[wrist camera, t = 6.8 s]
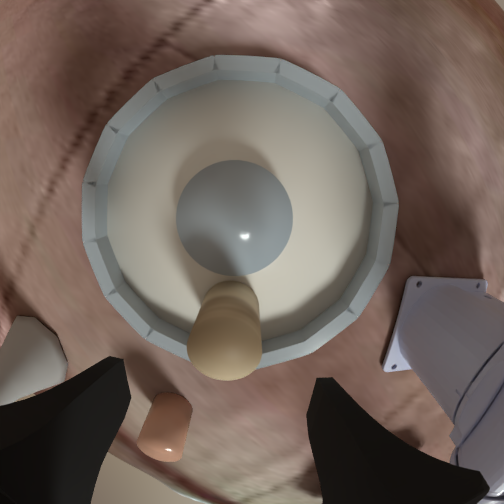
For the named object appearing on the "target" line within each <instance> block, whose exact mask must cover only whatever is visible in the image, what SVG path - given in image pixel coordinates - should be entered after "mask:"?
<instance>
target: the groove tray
mask: <svg viewBox="0 0 504 504" xmlns="http://www.w3.org/2000/svg"><path fill="white" fill-rule="evenodd" d="M153 80H154V81H153ZM153 80H152V79H151V80H150V81H149V82H148V83H147V84H146V85H145V86H144V87H142V88H141V89H140V90H139V91H138V92H137V93H136V94H135V95H134V96H133V97H132V98H131V99H130V100H129V101H128V102H127V103H126V104H125V105H124V106H123V107H122V108H121V109H120V110H119V111H118V112H117V113H116V114H115V115H114V116H113V117H112V118H111V119H110V120H109V121H108V123H107V124H108V125H106V126H105V128H104V130H103V132H102V134H101V136H100V139H99V141H98V143H97V146H96V148H95V150H94V153H93V155H92V158H91V160H90V163H89V165H88V168H87V171H86V173H85V176H84V179H83V181H84V182H82V240H83V242H84V243H83V245H84V247H85V250H86V253H87V256H88V258H89V261H90V263H91V266H92V268H93V271H94V273H95V276H96V278H97V280H98V283H99V285H100V287H101V290H102V292H103V294H104V296H106V297H105V298H106V299H107V300H108V301H109V302H110V304H111V305H112V306H113V307H114V308H115V309H116V310H117V311H118V312H119V313H120V314H121V316H122V317H123V318H124V319H125V320H126V321H127V322H128V323H129V324H130V325H131V326H132V327H133V328H134V329H135V330H136V331H137V332H138V333H139V334H140V335H141V336H142V337H143V338H144V339H145V338H146V340H147V341H149V342H151V343H153V344H155V345H157V346H159V347H161V348H163V349H165V350H167V351H169V352H171V353H173V354H175V355H177V356H179V357H181V358H184V359H186V360H188V361H190V359H189V357H188V354H187V341H188V338H189V335H190V333H191V330H192V328H193V325H194V323H195V320H196V318H197V315H198V313H199V310H200V308H201V305H202V303H203V300H204V298H205V295H206V293H207V292H208V291H209V289H210V288H211V287H213V286H214V285H215V284H217V283H220V282H223V281H237V282H241V283H243V284H245V285H247V286H248V287H250V288H251V289H252V290H253V292H254V293H255V294H256V296H257V298H258V302H259V312H260V326H261V341H262V357H261V360H260V363H259V365H258V366H257V367H256V369H259V368H263V367H267V366H270V365H274V364H278V363H281V362H285V361H288V360H291V359H295V358H298V357H301V356H305V355H308V354H310V352H311V353H312V352H314V351H315V350H317V349H318V348H319V347H321V346H322V345H324V344H325V343H326V342H328V341H329V340H330V339H332V338H333V337H334V336H336V335H337V334H338V333H339V332H341V331H342V330H343V329H345V328H346V327H347V326H348V325H350V324H351V323H352V322H354V321H355V320H356V319H357V318H358V317H359V316H360V314H361V313H362V311H363V310H364V308H365V307H366V305H367V303H368V302H369V300H370V299H371V297H372V295H373V294H374V292H375V290H376V289H377V287H378V285H379V283H380V282H381V280H382V278H383V277H384V275H385V273H386V271H387V270H388V268H389V265H388V264H390V262H391V256H392V251H393V245H394V238H395V231H396V224H397V216H398V208H399V204H397V203H399V201H398V196H397V192H396V188H395V184H394V180H393V176H392V172H391V168H390V165H389V161H388V158H387V154H386V151H385V148H384V144H383V141H382V140H381V138H380V137H379V135H378V134H377V133H376V131H375V130H374V129H373V127H372V126H371V125H370V124H369V122H368V121H367V120H366V118H365V117H364V116H363V115H362V113H361V112H360V111H359V110H358V108H357V107H356V106H355V105H354V104H353V102H352V101H351V100H350V99H349V98H348V97H347V95H346V94H345V93H344V92H343V91H342V90H340V88H338V87H336V86H335V85H333V84H331V83H329V82H328V81H326V80H324V79H322V78H320V77H318V76H316V75H314V74H312V73H311V72H309V71H307V70H305V69H303V68H301V67H298V66H296V65H294V64H292V63H290V62H288V61H286V60H283V59H281V61H280V58H271V57H259V56H242V55H215V58H214V55H212V56H209V57H206V58H203V59H200V60H198V61H195V62H192V63H189V64H187V65H184V66H181V67H179V68H176V69H174V70H171V71H169V72H166V73H164V74H162V75H159V76H157V77H155V78H153ZM339 90H340V91H339ZM380 141H382V142H380ZM357 316H358V317H357ZM190 362H191V361H190Z"/></svg>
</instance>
